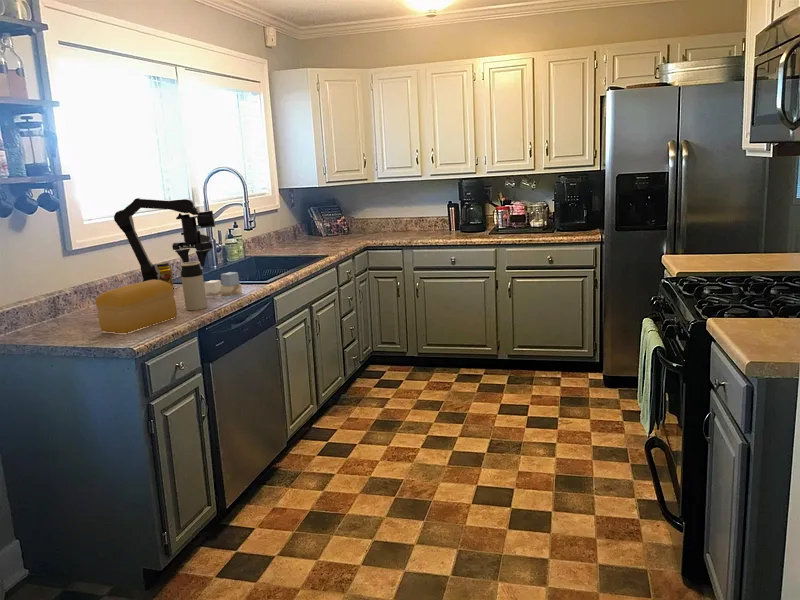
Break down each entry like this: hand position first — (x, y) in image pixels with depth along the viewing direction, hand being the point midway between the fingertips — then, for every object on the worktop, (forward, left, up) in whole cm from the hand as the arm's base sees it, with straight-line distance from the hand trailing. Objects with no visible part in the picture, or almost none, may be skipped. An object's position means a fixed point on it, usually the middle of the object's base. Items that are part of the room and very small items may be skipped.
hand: (195, 266), depth 280 cm
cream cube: (+8, 0, -13) cm, 15 cm away
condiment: (+8, +32, -13) cm, 36 cm away
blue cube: (+7, -12, -9) cm, 17 cm away
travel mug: (-17, -18, -13) cm, 28 cm away
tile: (+3, -16, -13) cm, 21 cm away
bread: (-42, -17, -13) cm, 47 cm away
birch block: (+7, -12, -13) cm, 19 cm away
